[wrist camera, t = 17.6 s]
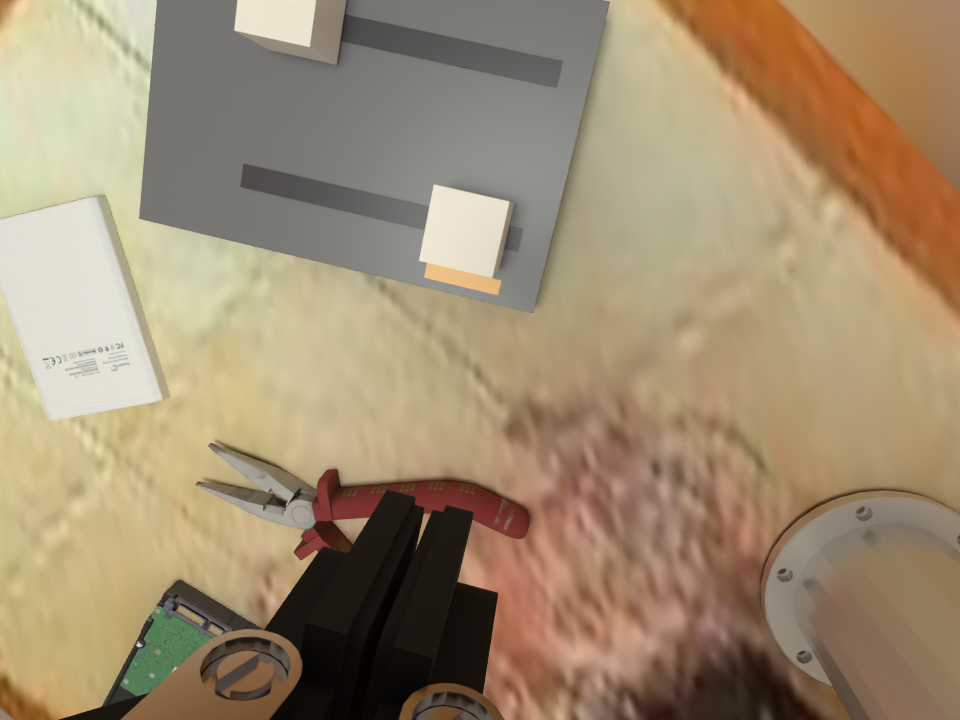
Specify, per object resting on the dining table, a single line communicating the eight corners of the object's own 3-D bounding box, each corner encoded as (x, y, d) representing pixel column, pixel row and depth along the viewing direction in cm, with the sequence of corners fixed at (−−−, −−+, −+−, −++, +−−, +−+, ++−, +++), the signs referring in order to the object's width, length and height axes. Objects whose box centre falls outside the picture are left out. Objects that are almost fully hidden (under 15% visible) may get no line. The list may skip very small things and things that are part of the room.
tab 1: (348, -13, 30) (322, -42, 27) (336, 65, 31) (309, 46, 28) (278, -28, 30) (243, -58, 27) (269, 50, 31) (234, 30, 28)
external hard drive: (113, 196, 38) (175, 394, 40) (-4, 225, 39) (64, 415, 41) (93, 195, 36) (160, 401, 38) (-28, 225, 37) (44, 423, 40)
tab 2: (514, 202, 32) (509, 201, 28) (498, 271, 32) (492, 278, 29) (446, 187, 32) (433, 184, 28) (433, 255, 33) (418, 260, 29)
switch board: (605, 17, 32) (610, 1, 29) (534, 306, 35) (533, 313, 33) (193, -69, 33) (163, -92, 31) (166, 218, 37) (138, 218, 34)
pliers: (236, 377, 39) (214, 390, 37) (536, 504, 39) (535, 525, 36) (191, 529, 42) (168, 550, 40) (469, 648, 42) (463, 676, 39)
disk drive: (226, 788, 47) (311, 648, 43) (206, 824, 44) (294, 678, 40) (105, 719, 47) (179, 572, 43) (77, 750, 44) (153, 597, 40)
